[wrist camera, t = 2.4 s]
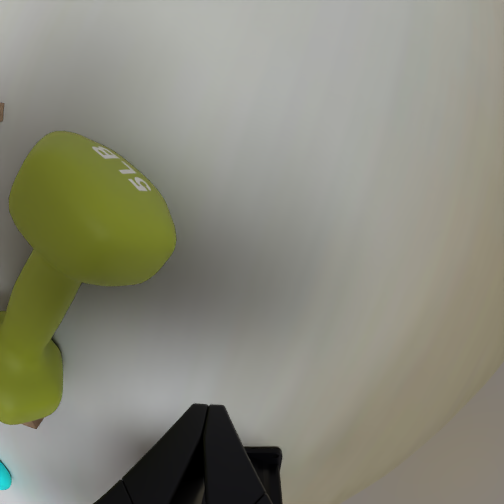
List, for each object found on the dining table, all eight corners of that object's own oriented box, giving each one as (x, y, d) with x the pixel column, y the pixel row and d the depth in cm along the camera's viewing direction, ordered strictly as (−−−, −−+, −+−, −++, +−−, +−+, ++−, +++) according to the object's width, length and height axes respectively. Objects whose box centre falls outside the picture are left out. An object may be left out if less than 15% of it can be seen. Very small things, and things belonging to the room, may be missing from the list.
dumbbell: (97, 121, 14) (11, 103, 7) (206, 217, 16) (175, 260, 9) (-6, 316, 17) (-64, 363, 10) (70, 388, 19) (26, 454, 12)
